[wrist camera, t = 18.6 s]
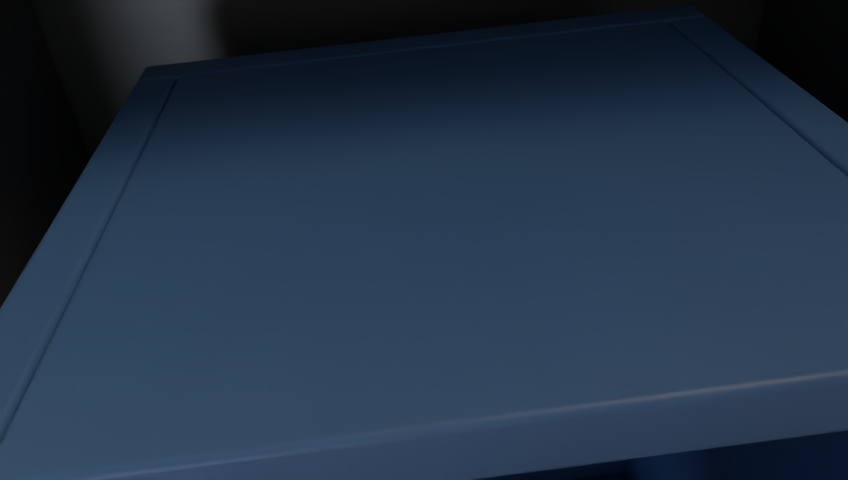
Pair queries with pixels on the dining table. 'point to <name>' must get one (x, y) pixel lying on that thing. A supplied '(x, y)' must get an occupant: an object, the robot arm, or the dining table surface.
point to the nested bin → (446, 268)
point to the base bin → (273, 32)
